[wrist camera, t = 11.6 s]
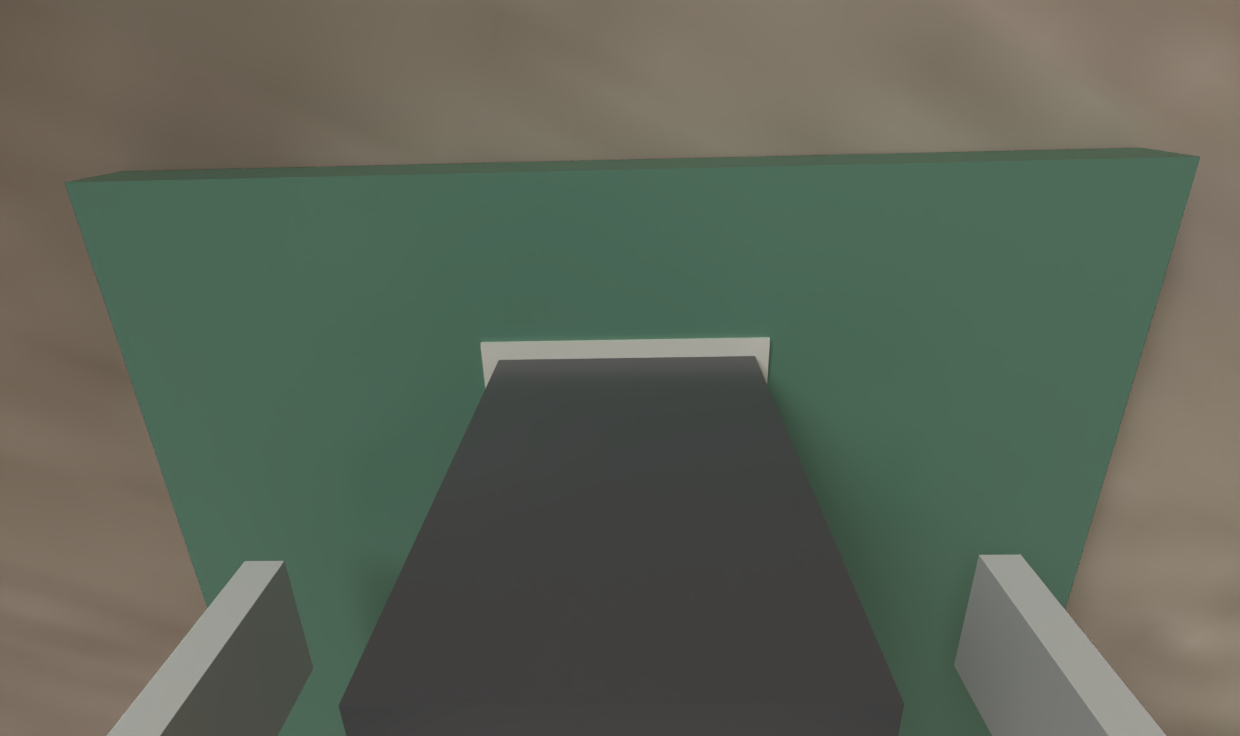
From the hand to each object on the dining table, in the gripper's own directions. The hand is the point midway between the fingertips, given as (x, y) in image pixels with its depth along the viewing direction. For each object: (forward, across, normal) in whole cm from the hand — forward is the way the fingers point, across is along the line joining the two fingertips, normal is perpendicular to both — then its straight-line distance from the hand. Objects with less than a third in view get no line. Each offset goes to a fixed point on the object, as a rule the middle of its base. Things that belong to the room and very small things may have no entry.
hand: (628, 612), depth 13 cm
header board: (+4, 0, 0) cm, 4 cm away
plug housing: (+2, 0, 0) cm, 2 cm away
